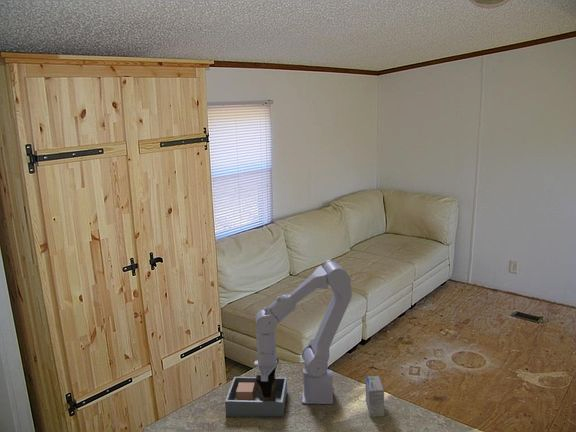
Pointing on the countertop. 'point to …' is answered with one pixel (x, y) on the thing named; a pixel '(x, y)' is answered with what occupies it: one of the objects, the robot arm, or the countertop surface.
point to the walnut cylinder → (273, 394)
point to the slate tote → (256, 400)
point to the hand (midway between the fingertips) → (268, 389)
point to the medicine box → (374, 396)
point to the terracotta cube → (245, 391)
